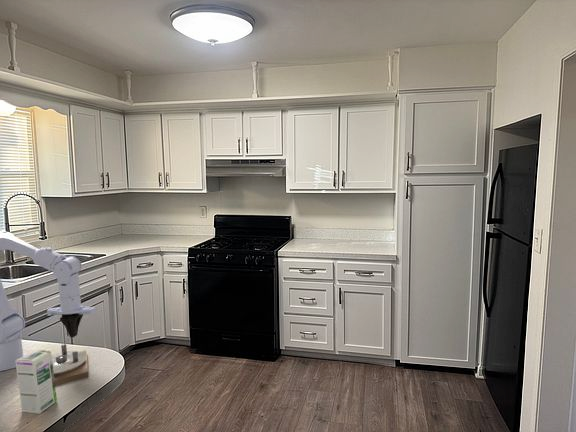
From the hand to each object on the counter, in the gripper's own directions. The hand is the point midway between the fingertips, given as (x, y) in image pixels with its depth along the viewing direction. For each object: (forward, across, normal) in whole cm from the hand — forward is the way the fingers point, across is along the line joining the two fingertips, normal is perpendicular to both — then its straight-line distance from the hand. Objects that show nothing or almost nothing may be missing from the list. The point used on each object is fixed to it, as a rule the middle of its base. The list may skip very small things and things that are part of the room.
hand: (73, 336), depth 125 cm
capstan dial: (+8, +2, +5) cm, 9 cm away
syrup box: (+10, -3, +24) cm, 26 cm away
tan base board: (+9, +2, +5) cm, 11 cm away
